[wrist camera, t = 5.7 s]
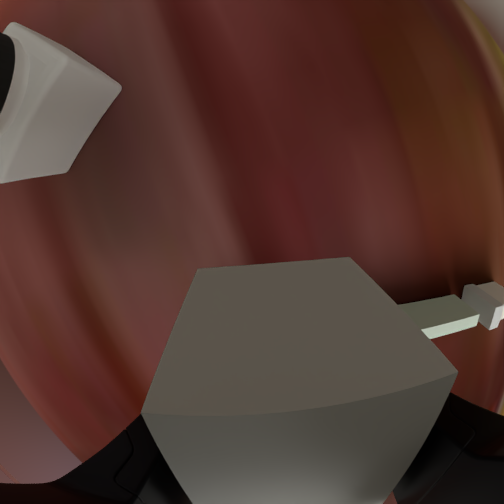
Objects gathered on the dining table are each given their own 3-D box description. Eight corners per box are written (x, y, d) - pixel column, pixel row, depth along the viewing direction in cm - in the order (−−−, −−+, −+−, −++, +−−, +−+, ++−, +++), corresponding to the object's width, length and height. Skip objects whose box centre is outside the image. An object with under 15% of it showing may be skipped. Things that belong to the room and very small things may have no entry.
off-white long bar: (490, 298, 20) (518, 318, 16) (267, 336, 20) (272, 376, 16) (494, 279, 20) (524, 297, 16) (265, 312, 20) (271, 350, 16)
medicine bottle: (67, 47, 14) (-43, -2, 2) (125, 87, 15) (-2, 25, 4) (18, 126, 15) (-102, 129, 4) (67, 175, 17) (-72, 206, 5)
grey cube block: (336, 397, 10) (374, 512, 5) (222, 407, 10) (214, 532, 5) (349, 256, 9) (458, 371, 3) (198, 268, 9) (140, 413, 3)
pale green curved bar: (456, 284, 19) (482, 303, 16) (452, 304, 20) (476, 325, 16) (323, 304, 19) (338, 332, 16) (322, 327, 20) (336, 358, 16)
